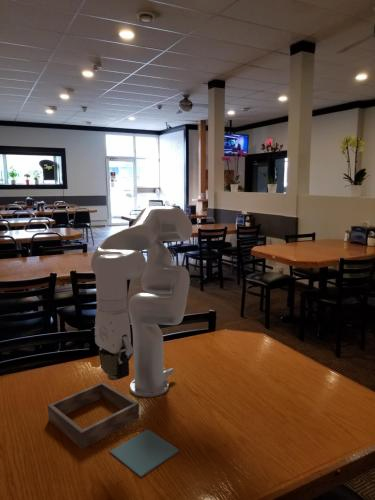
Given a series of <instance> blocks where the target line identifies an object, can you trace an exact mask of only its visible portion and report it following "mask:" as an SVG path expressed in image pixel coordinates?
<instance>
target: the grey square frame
mask: <svg viewBox="0 0 375 500" xmlns="http://www.w3.org/2000/svg"><path fill="white" fill-rule="evenodd" d="M101 399H104V400H105V401H106V402H109V403H110V404H111V405H113V406H114V407H115V408H118V409H119V411H117V412H115V413H112V414H110V415H108V416H107V417H105V418H102V419H101V420H99V421H97V422H95V423H93V424H90V425H89V426H87V427H85V428H82V427H81V426H80V425H78V424H77V423H76V422H74V421H73V420H72V419H71V418H70V417H68V416H66V415H68V414H70V413H72V412H74V411H77V410H79V409H82V408H84V407H86V406H87V405H90V404H92V403H94V402H96V401H98V400H101ZM47 414H48V415H47V416H48V421H49V422H50V423H51V424H53V426H55V427H56V428H57V429H58V430H60V431H61V433H63V434H64V435H65V436H66V437H68V438H69V440H71V441H72V442H73V443H74V444H76V445H77V446H78V447H79V448H80V449H81V450H85V449H86V448H87V447H89V446H91V445H93V444H96V443H97V442H98V441H100V440H103V439H104V438H105V437H108V436H110V435H111V434H114V433H115V432H117V431H119V430H121V429H122V428H124V427H127V426H128V425H130V424H131V423H133V422H135V421H137V420H139V419H140V403H138V402H137V401H135V400H134V399H133V398H130V397H129V396H127V395H125V394H124V393H122V392H121V391H118V390H117V389H115V388H114V387H112V386H110V385H109V384H107V383H105V382H103V381H102V382H99V383H96V384H95V385H92V386H90V387H87V388H85V389H83V390H80V391H79V392H78V391H77V392H76V393H73V394H71V395H68V396H66V397H64V398H61V399H60V400H57V401H55V402H52V403H50V404H48V405H47Z"/></svg>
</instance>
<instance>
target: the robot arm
mask: <svg viewBox="0 0 375 500" xmlns="http://www.w3.org/2000/svg"><path fill="white" fill-rule="evenodd" d="M192 235H193V224H192V220H191V219H190V218H189V216H188V215H187V214H186V213H185V211H183V209H181V208H179V207H177V206H172V205H171V206H170V205H168V206H166V205H165V206H163V205H162V206H161V205H160V206H159V205H157V206H154V205H153V206H152V205H151V206H147V207H145V208H143V209H142V210H141V211H140V212H139V214H138V215H137V216H136V218H135V219H134V221H133V222H132V224H130V226H129V227H127V228H124V229H122V230H120V231H117V232H115V233H114V234H111V235H109V236H107V237H105V238H104V240H102V242H101V243H100V244H98V246H97V247H96V249H95V251H94V252H93V254H92V257H91V259H90V267H91V270H92V272H93V274H94V275H95V287H96V288H95V290H96V291H95V294H96V311H95V317H94V318H95V320H94V321H95V322H94V342H95V344H96V346H98V347H99V349H100V350H102V348H103V349H105V350H107V351H109V352H110V353H113V354H116V355H117V360H118V363H117V378H118V380H121V379H124V378H126V377H128V376H129V375H130V364H129V363H130V361H131V358H132V356H133V375H134V376H133V378H134V379H133V380H132V381H131V382H130V384H129V391H130V392H131V393H132V394H133V395H135V396H137V397H142V398H153V397H157V396H158V397H159V396H160V395H163V394H164V393H166V392H167V391H168V390H169V388H170V383H169V380H168V377H169V376H171V375H174V374H175V369H174V368H173V367H172V368H171V367H170V368H169V369H167V367H164V365H165V364H164V335H163V332H162V329H161V327H159V325H166V326H176V325H179V324H180V323H182V321H183V319H184V315H185V311H186V306H187V302H188V295H189V290H190V283H191V282H190V281H191V280H190V279H191V278H190V274H189V270H188V269H187V268H186V267H184V266H181V265H172V262H173V255H172V253H171V251H170V250H169V247H167V246H166V245H165V244H164V243H163V242H187V241H189V240H190V239H191V237H192ZM146 250H147V257H145V255H144V254H143V253H142V252H143V251H146ZM139 277H141V280H140V281H141V282H140V283H141V284H140V285H141V289H142V290H143V291H144V292H138V293H136V294H134V295H132V296H131V298H130V299H129V300H128V280H135V279H137V278H139ZM128 301H129V302H128ZM129 317H130V318H129ZM130 322H131V326H130ZM131 328H132V334H131ZM131 335H132V336H131ZM131 337H132V338H131ZM131 339H132V340H131ZM131 343H132V344H131ZM121 347H122V348H123V349H122V350H120V349H121ZM121 352H124V353H125V355H123V356H122V358H121V354H120V353H121ZM100 369H102V367H101V366H100Z"/></svg>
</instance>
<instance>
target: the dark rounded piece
mask: <svg viewBox="0 0 375 500" xmlns="http://www.w3.org/2000/svg"><path fill="white" fill-rule="evenodd" d="M122 349H123V348H122V347H121V349H120V350H122ZM120 354H121V358H122V356H123V355H125V353H124V352H121V353H120ZM98 355H99V362H100V368H101V367H102V368H101V369H102V371H103V372H104V373H105V374H106V377H107V379H108V380H110V381H118V380H119V379H118V378H117V363H118V360H117V355H116V354H113V353H110V352H109V351H107V350H105V349H103V348H102V350H100V348H99V349H98Z"/></svg>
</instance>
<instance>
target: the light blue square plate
mask: <svg viewBox="0 0 375 500" xmlns="http://www.w3.org/2000/svg"><path fill="white" fill-rule="evenodd" d="M179 452H180V449H179V448H177V447H176V446H174V445H172V444H171V443H169V442H168V441H166V440H165V439H164V438H163V437H161V436H159V435H157V434H156V433H154V432H153V431H152V430H150V429H148V428H147V429H146V430H143V431H142V432H140V433H139V434H137V435H135V436H133V437H132V438H130V439H129V440H127V441H124V442H123V443H121V444H120V445H118V446H116V447H115V448H113V449H112V450H110V451H109V453H110V454H111V455H112V456H114V457H115V458H116V459H117V460H118V461H120V462H121V463H122V464H124V466H126V467H127V468H129V470H131V471H132V472H134V473H135V474H136V475H137V476H139V477H140V478H143V477H144V476H145V475H147V474H148V473H149V472H151V471H153V470H155V468H158V466H160V465H161V464H163V463H164V462H166V461H167V460H168V459H170V458H172V457H173V456H174V455H176V454H177V453H179Z"/></svg>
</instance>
